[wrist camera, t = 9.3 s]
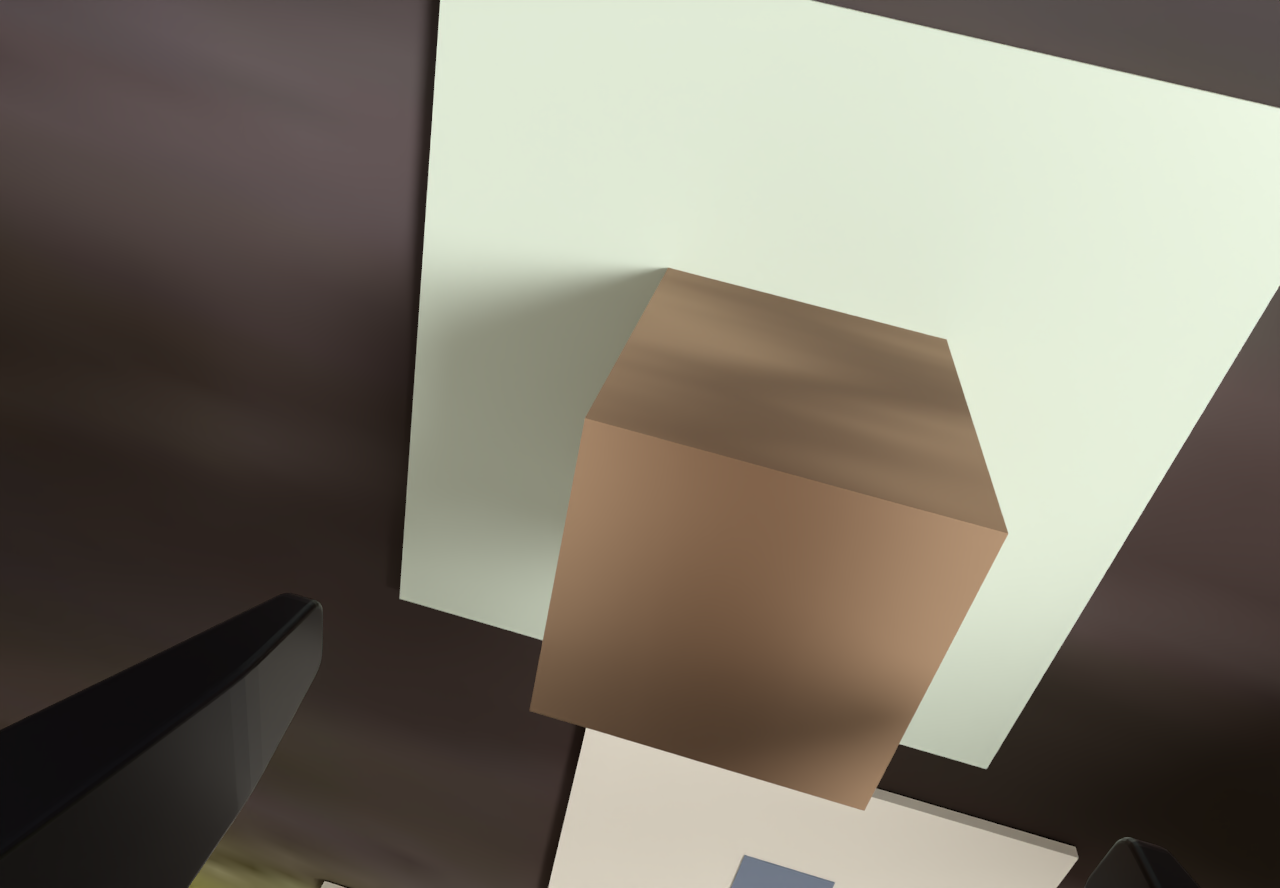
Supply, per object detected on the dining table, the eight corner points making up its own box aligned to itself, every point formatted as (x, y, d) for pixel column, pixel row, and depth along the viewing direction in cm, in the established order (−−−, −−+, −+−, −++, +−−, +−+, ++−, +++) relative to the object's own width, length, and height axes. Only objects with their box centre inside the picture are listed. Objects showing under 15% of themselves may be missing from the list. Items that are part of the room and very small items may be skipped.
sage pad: (1358, 126, 13) (1373, 130, 12) (983, 755, 20) (987, 769, 19) (455, -82, 14) (445, -84, 13) (407, 587, 21) (399, 598, 20)
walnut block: (946, 339, 15) (1008, 534, 10) (854, 562, 17) (864, 810, 12) (668, 267, 15) (584, 418, 10) (617, 496, 18) (529, 710, 13)
